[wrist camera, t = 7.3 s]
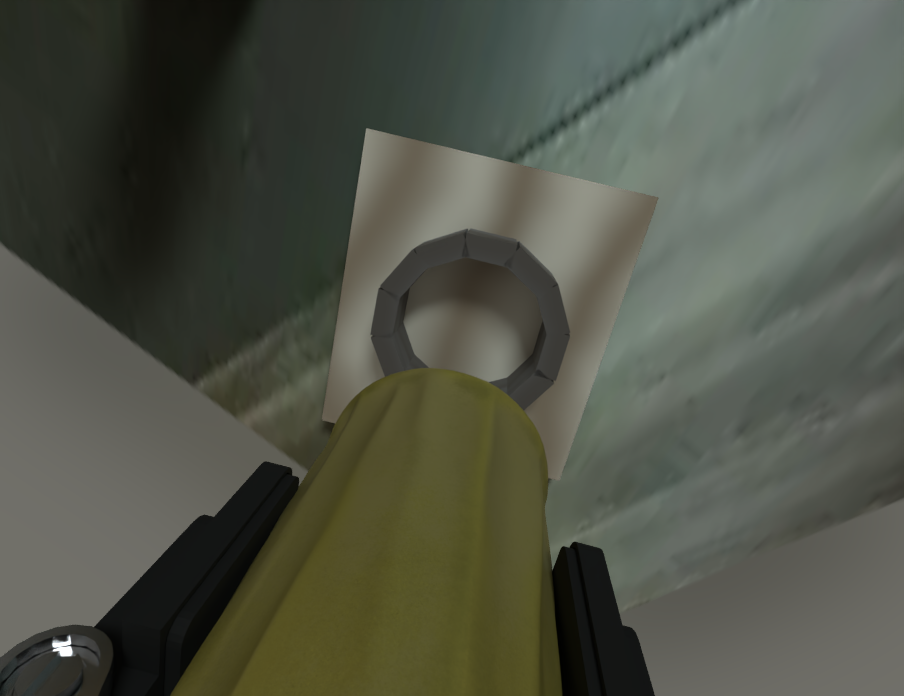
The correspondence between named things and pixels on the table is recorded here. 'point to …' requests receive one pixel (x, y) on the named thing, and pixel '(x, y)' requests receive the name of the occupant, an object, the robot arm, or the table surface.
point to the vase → (401, 558)
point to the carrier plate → (483, 278)
